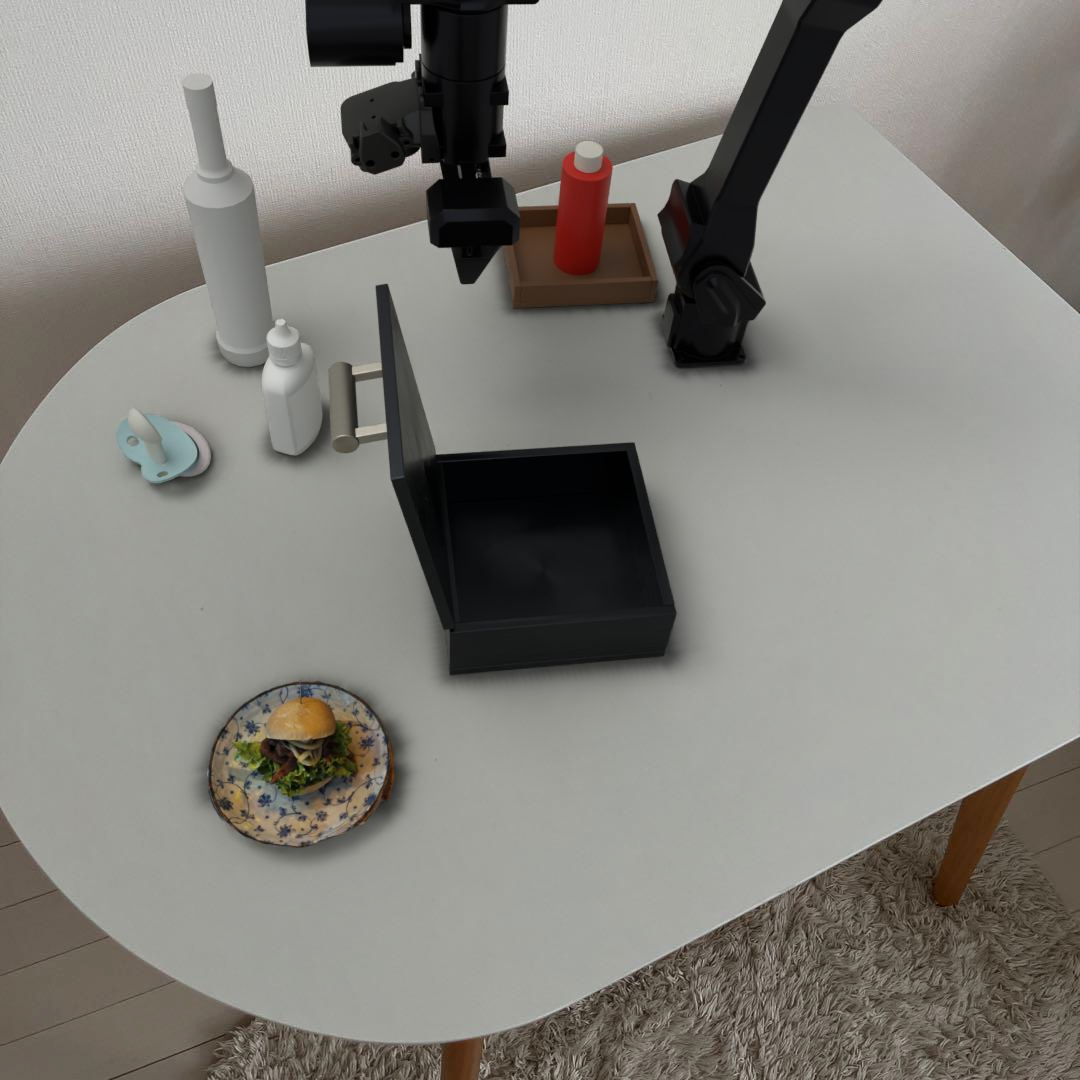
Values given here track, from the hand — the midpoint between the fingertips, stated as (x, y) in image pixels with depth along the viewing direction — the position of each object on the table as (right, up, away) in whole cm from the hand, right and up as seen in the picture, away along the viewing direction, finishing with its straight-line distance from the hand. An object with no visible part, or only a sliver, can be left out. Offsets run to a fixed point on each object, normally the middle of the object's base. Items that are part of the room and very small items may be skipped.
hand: (461, 243), depth 88 cm
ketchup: (+10, +3, +17) cm, 20 cm away
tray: (+10, +3, +18) cm, 20 cm away
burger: (-9, -39, -14) cm, 42 cm away
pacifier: (-23, -17, +1) cm, 29 cm away
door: (-1, -18, -16) cm, 25 cm away
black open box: (+6, -26, -4) cm, 27 cm away
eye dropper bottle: (-14, -15, +3) cm, 20 cm away
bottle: (-19, -7, +8) cm, 22 cm away
